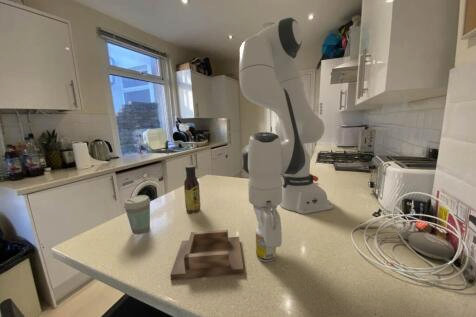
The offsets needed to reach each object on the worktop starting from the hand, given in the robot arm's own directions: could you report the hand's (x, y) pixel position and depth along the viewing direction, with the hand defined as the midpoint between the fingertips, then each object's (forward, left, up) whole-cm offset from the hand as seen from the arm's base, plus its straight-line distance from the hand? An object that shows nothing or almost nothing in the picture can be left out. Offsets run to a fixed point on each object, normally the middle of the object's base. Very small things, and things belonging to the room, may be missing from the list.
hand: (265, 241), depth 56 cm
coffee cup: (+42, -19, -5) cm, 46 cm away
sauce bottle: (+25, -32, -5) cm, 41 cm away
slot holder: (+16, -1, -5) cm, 17 cm away
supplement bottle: (0, 0, -5) cm, 5 cm away
